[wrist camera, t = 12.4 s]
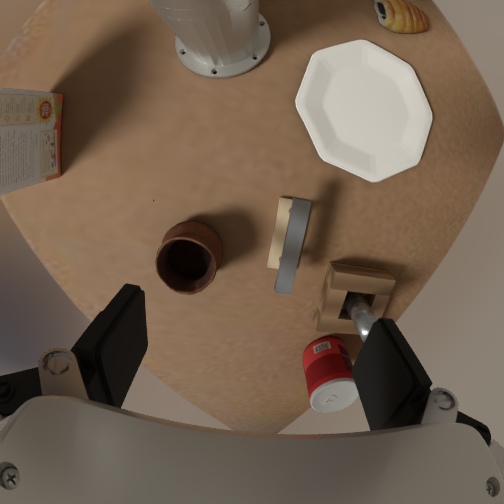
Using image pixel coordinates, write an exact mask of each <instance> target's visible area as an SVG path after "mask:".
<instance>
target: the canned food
mask: <svg viewBox="0 0 504 504" xmlns="http://www.w3.org/2000/svg"><path fill="white" fill-rule="evenodd" d="M303 365H304V371H305V376H306V382H307V388H308V394H309V399H310V403H311V406H312V407H313V409H315V410H316V411H320V412H334V411H338V410H341V409H344V408H346V407H347V406H349V405H351V404H352V403H353V402H354V401H355V400H356V399H357V398H358V397H359V394H358V391H357V388H356V385H355V382H354V379H353V376H352V367H353V365H352V363H351V360H350V357H349V355H348V352H347V350H346V347H345V345H344V344H343V342H342V341H340V340H339V339H338V338H335V337H322V338H319V339H317V340H315V341H313V342H312V343H310V344H309V345H308V346H307V348H306V349H305V351H304V354H303Z"/></svg>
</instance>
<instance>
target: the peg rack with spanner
mask: <svg viewBox="0 0 504 504" xmlns="http://www.w3.org/2000/svg"><path fill="white" fill-rule="evenodd" d="M310 207H311V201H310V200H307V199H302V198H297V197H293V199H289V198H283V197H280V200H279V206H278V211H277V216H276V222H275V227H274V232H273V237H272V243H271V248H270V253H269V258H268V263H267V267H269V268H276V269H278V273H277V278H276V283H275V287H274V289H275V292H277V293H284V294H290V293H291V289H292V285H293V281H294V277H295V273H296V269H297V265H298V261H299V256H300V252H301V248H302V243H303V239H304V234H305V230H306V225H307V221H308V216H309V211H310Z"/></svg>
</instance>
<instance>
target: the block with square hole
mask: <svg viewBox="0 0 504 504" xmlns="http://www.w3.org/2000/svg"><path fill="white" fill-rule="evenodd" d="M395 283H396V280H395V279H394V278H393V277H392V276H391V275H390V274H389V272H388V271H385V270H378V269H372V268H365V267H359V266H353V265H346V264H340V263H333V262H330V263H329V267H328V270H327V274H326V278H325V281H324V284H323V288H322V291H321V294H320V298H319V301H318V304H317V307H316V311H315V314H314V317H313V320H314V323H315V327H316V330H317V331H319V332H330V333H343V334H358V335H359V333H358V331H357V329H356V327H355V325H354V323H353V321H352V319H351V317H350V315H349V313H348V311H347V309H346V307H345V305H344V300H345V297H346V294H347V291H352V292H360V293H362V295H363V296H364V298H365V300H366V301H367V303H368V304H369V306H370V307H371V309H372V310H373V312H374V314H375V315H376V317H377V318H378V319H379V318H382V315H383V313H384V310H385V308H386V306H387V303H388V301H389V298H390V296H391V293H392V290H393V288H394V285H395Z"/></svg>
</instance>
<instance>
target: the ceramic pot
mask: <svg viewBox="0 0 504 504" xmlns="http://www.w3.org/2000/svg"><path fill="white" fill-rule="evenodd" d="M153 201H154V200H153ZM221 260H222V244H221V241H220V238H219V237H218V235H217V233H216V232H215V231H214V230H213V229H212V228H211V227H209V226H207V225H205V224H203V223H201V222H196V221H186V222H181V223H179V224H177V225H175V226H174V227H172V228H171V229H170V230H169V231H168V232H167V233H166V234H165V236H164V238H163V242H162V245H161V246H160V248H159V249H158V251H157V257H156V262H155V263H156V270H157V273H158V275H159V277H160V278H161V279H162V281H163V282H164V283H165V284H166V285H167V286H168V287H169V288H170V289H172V290H174V291H175V292H177V293H181V294H187V295H191V294H195V293H198V292H200V291H202V290H203V289H205V288H206V287H207V286H208V285H209V284H210V283H211V282H212V281H213V279H214V277H215V274H216V271H217V269H218V268H219V266H220V263H221Z"/></svg>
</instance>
